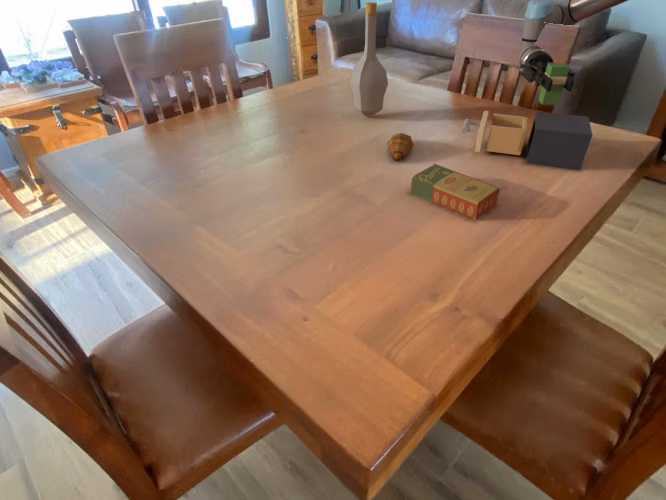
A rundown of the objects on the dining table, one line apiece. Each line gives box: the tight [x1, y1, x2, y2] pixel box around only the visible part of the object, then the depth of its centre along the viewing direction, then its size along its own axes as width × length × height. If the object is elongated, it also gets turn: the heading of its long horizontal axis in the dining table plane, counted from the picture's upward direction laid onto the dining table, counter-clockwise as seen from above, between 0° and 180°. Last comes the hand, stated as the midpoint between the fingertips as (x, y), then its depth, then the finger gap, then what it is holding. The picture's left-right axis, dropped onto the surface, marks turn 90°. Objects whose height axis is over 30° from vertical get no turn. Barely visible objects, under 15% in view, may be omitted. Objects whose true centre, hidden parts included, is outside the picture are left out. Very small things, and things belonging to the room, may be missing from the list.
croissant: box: [386, 132, 415, 162], centre depth 107 cm, size 14×7×5 cm, turn 167°
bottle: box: [349, 1, 389, 118], centre depth 120 cm, size 11×11×30 cm
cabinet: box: [525, 111, 593, 171], centre depth 102 cm, size 12×12×9 cm
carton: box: [410, 163, 501, 220], centre depth 89 cm, size 8×16×4 cm, turn 44°
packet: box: [537, 62, 571, 106], centre depth 117 cm, size 5×4×10 cm
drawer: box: [460, 110, 529, 156], centre depth 107 cm, size 15×10×7 cm
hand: (560, 86), depth 113 cm, fingers closed on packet, 5 cm apart
